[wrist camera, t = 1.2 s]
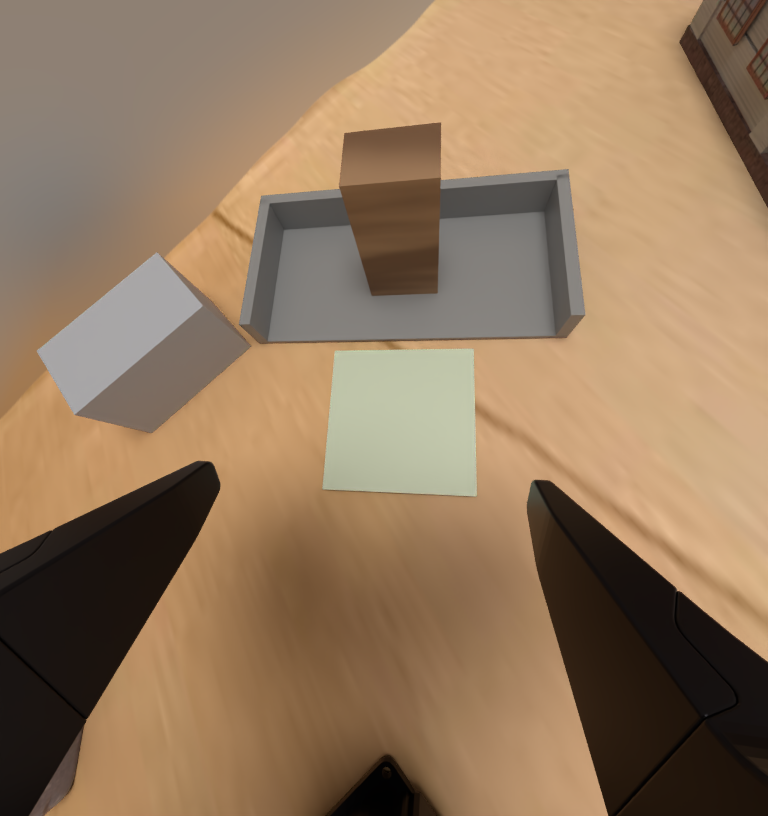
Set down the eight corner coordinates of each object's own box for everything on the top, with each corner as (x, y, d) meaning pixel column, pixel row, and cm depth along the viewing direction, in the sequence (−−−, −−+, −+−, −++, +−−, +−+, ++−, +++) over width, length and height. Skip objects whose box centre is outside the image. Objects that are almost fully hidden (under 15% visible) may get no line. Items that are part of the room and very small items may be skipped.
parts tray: (566, 337, 23) (585, 314, 20) (259, 343, 27) (238, 324, 24) (553, 205, 26) (568, 169, 23) (277, 225, 29) (261, 195, 27)
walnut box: (437, 293, 25) (440, 177, 16) (371, 296, 26) (339, 186, 17) (438, 252, 26) (441, 120, 17) (374, 255, 27) (344, 131, 18)
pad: (475, 496, 21) (476, 496, 21) (324, 489, 23) (322, 489, 22) (472, 351, 24) (473, 348, 24) (336, 353, 25) (335, 350, 25)
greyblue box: (153, 433, 26) (74, 414, 20) (118, 381, 28) (36, 350, 22) (252, 347, 27) (202, 305, 21) (212, 301, 28) (157, 252, 23)
